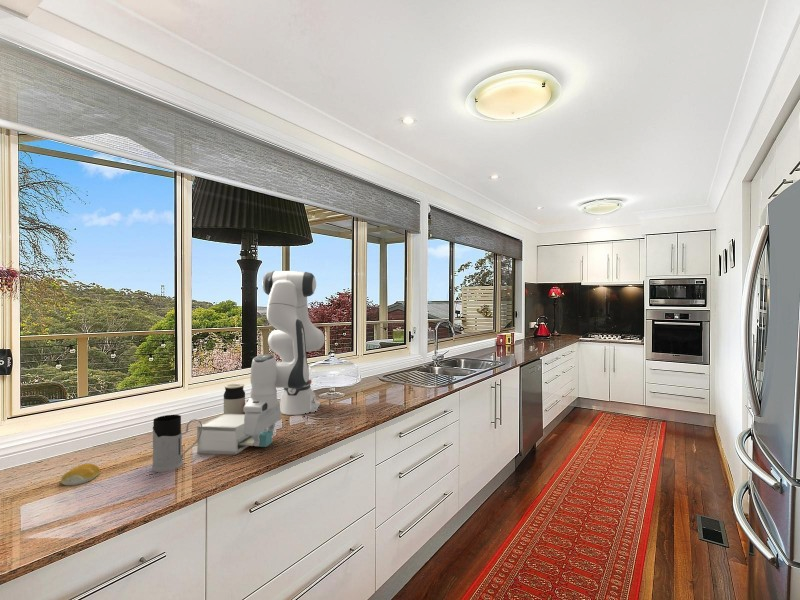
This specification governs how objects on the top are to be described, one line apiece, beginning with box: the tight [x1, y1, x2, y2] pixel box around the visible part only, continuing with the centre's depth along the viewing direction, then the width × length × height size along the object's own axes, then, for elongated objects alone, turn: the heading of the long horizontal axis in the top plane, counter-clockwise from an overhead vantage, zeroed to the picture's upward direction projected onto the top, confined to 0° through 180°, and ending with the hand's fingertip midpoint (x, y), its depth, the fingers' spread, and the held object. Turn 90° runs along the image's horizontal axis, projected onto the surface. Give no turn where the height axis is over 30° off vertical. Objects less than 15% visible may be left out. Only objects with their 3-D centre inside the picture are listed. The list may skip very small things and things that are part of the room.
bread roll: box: [60, 463, 101, 486], centre depth 118 cm, size 8×9×4 cm
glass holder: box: [150, 414, 203, 473], centre depth 128 cm, size 9×14×15 cm, turn 111°
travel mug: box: [223, 383, 246, 414], centre depth 163 cm, size 8×8×18 cm
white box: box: [196, 413, 249, 456], centre depth 145 cm, size 16×15×9 cm
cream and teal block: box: [238, 430, 273, 448], centre depth 144 cm, size 8×20×4 cm, turn 82°
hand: (264, 440), depth 143 cm, fingers open, 8 cm apart
